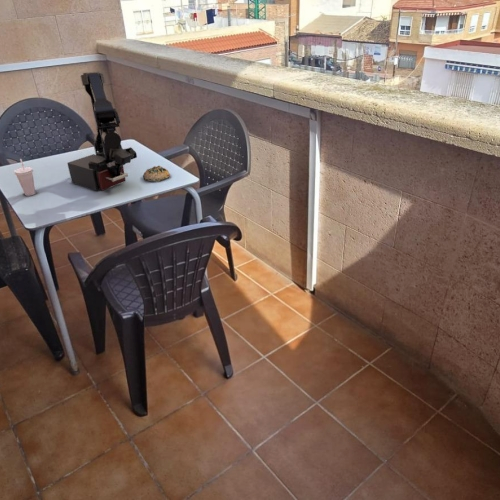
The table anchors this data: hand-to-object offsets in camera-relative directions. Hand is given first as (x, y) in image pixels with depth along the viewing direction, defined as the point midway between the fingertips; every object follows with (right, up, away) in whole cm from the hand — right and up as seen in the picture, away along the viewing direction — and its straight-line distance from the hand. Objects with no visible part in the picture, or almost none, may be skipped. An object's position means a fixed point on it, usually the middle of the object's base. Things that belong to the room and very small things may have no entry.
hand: (117, 180), depth 167 cm
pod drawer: (-6, 0, +5) cm, 7 cm away
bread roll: (+13, +3, +12) cm, 18 cm away
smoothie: (-33, -5, -1) cm, 34 cm away
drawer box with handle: (-11, +1, +8) cm, 14 cm away
